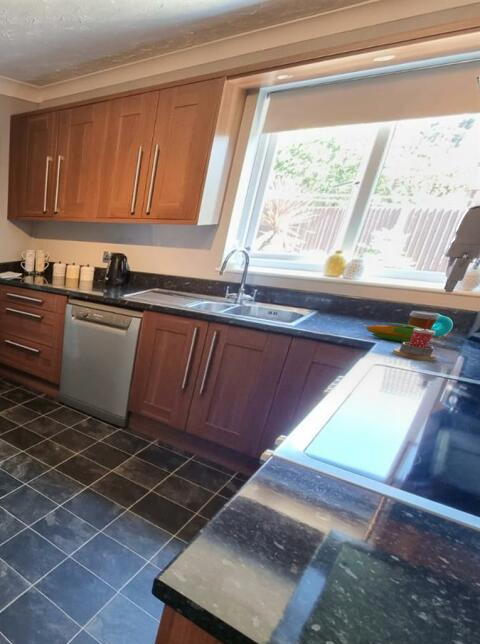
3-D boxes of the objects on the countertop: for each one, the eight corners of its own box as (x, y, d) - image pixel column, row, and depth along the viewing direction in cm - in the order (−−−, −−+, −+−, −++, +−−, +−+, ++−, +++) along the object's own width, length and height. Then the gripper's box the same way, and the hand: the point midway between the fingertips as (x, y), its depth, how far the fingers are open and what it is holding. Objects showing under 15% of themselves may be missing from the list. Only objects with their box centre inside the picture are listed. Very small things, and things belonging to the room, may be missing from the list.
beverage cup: (406, 349, 170) (421, 314, 165) (427, 353, 165) (443, 318, 160) (401, 351, 167) (417, 316, 162) (423, 355, 162) (439, 319, 157)
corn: (430, 328, 178) (368, 319, 191) (422, 346, 180) (361, 336, 194) (431, 327, 183) (370, 318, 196) (423, 344, 185) (363, 334, 199)
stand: (434, 356, 167) (439, 345, 165) (435, 363, 159) (440, 351, 157) (393, 349, 174) (397, 339, 173) (391, 355, 167) (396, 344, 165)
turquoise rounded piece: (419, 335, 199) (429, 314, 195) (410, 331, 207) (419, 311, 204) (448, 338, 195) (458, 317, 191) (437, 334, 203) (446, 313, 200)
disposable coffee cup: (431, 342, 187) (444, 316, 182) (402, 339, 192) (414, 312, 187) (425, 338, 194) (436, 312, 190) (397, 334, 199) (408, 309, 195)
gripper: (480, 254, 144) (462, 295, 149) (474, 252, 158) (458, 289, 163) (453, 253, 148) (436, 292, 153) (450, 250, 162) (434, 287, 167)
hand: (447, 291), depth 158 cm, fingers open, 8 cm apart
